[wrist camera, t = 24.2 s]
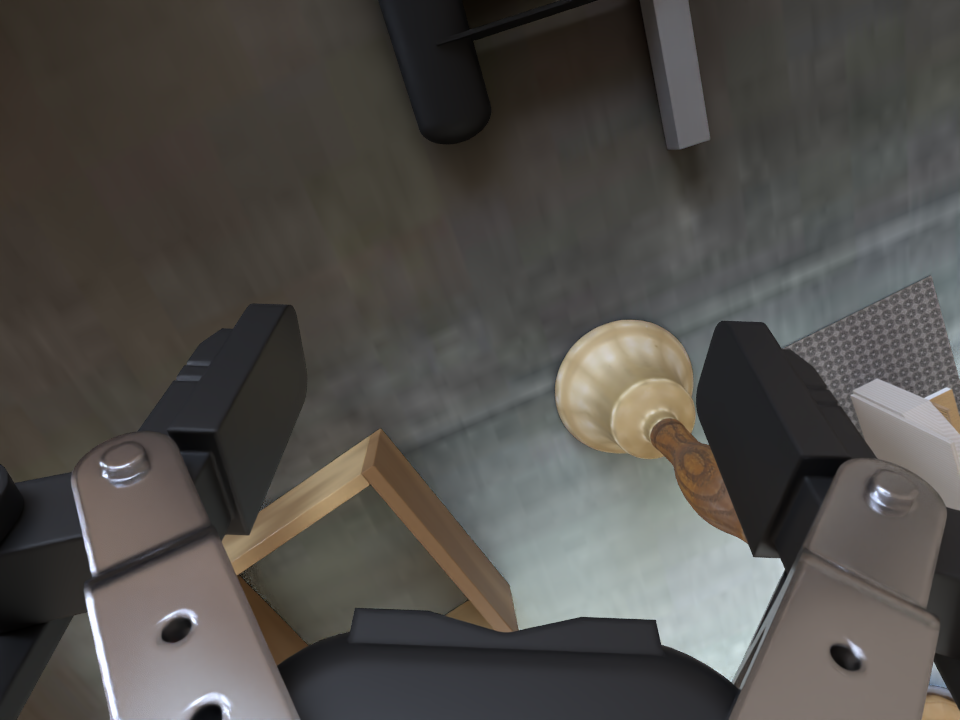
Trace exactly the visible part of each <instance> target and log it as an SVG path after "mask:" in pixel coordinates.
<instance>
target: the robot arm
mask: <svg viewBox="0 0 960 720" xmlns="http://www.w3.org/2000/svg"><path fill="white" fill-rule="evenodd" d="M306 392H307V369H306V364H305V358H304V353H303V347H302V342H301V336H300V331H299V325H298V320H297V315H296V312H295V309H294V308H293V306H292V305H280V304H250V305H249V306H248V307H247V308H246V310H245V311H244V313H243V314H242V316H241V317H240V319H239V320H238V322H237V323H236V325H235V327H234V328H233V329H224V328H222V329H221V330H219V331H218V332H216V333H215V334H213V335H212V336H210V337H209V338H208V339H206V340H205V341H203V342H202V343H200V344H199V346H198V347H197V349H196V350H195V351H194V353H193V354H192V356H191V357H190V358H189V360H188V361H187V365H184V367H183V368H182V370H181V371H180V372H179V374H178V375H177V380H176V381H175V380H174V381H173V382H172V384H171V385H170V386H169V388H168V389H167V391H166V392H165V393H164V395H163V396H162V398H161V399H160V401H159V402H158V403H157V405H156V406H155V408H154V409H153V410H152V412H151V413H150V415H149V416H148V417H147V419H146V420H145V422H144V423H143V424H142V426H141V427H140V429H139V430H138V431H137V432H131V433H126V434H123V435H120V436H116V437H114V438H111V439H109V440H107V441H105V442H103V443H101V444H99V445H98V446H96V447H95V448H93V449H92V450H90V451H89V452H88V453H87V454H85V455H84V456H83V457H82V458H81V459H80V460H79V462H78V463H77V465H76V466H75V468H74V470H73V472H70V473H65V474H60V475H54V476H49V477H44V478H39V479H34V480H28V481H23V482H18V483H14V482H13V480H12V478H11V477H10V475H9V474H8V472H7V471H6V469H5V467H3V466H2V465H1V464H0V720H17V718H18V716H19V714H20V712H21V711H22V709H23V707H24V705H25V703H26V702H27V700H28V698H29V696H30V694H31V692H32V691H33V689H34V687H35V685H36V683H37V681H38V680H39V678H40V676H41V674H42V672H43V671H44V669H45V667H46V665H47V663H48V661H49V660H50V658H51V656H52V654H53V652H54V651H55V649H56V647H57V645H58V643H59V641H60V640H61V638H62V636H63V634H64V632H65V630H66V629H67V627H68V625H69V623H70V621H71V620H72V618H73V616H74V615H77V614H81V613H86V612H88V614H89V619H90V623H91V628H92V633H93V638H94V642H95V647H96V652H97V657H98V661H99V666H100V671H101V675H102V680H103V685H104V690H105V694H106V699H107V704H108V709H109V713H110V718H111V720H922V716H923V711H924V706H925V701H926V696H927V691H928V686H929V681H930V675H931V670H932V665H933V661H934V663H935V665H936V667H937V669H938V671H939V672H940V674H941V676H942V678H943V680H944V682H945V684H946V686H947V688H948V690H949V692H950V694H951V696H952V697H953V699H954V701H955V703H956V705H957V707H958V709H959V711H960V511H959V510H956V509H952V508H949V507H946V505H945V503H944V501H943V499H942V498H941V496H940V495H939V494H938V492H937V491H936V490H935V489H934V488H933V487H932V486H931V485H930V484H929V483H927V482H926V481H925V480H924V479H922V478H921V477H920V476H918V475H917V474H915V473H913V472H911V471H910V470H908V469H906V468H904V467H902V466H899V465H897V464H894V463H891V462H888V461H885V460H881V459H877V457H876V456H875V454H874V453H873V451H872V450H871V448H870V447H869V446H868V444H867V443H866V441H865V440H864V438H863V437H862V436H861V434H860V433H859V431H858V430H857V428H856V427H855V425H854V424H853V423H852V421H851V420H850V418H849V417H848V415H847V414H846V412H845V411H844V410H843V408H842V407H841V406H838V401H837V400H836V398H835V397H834V395H833V394H832V392H831V391H830V390H827V385H826V384H825V382H824V381H823V379H822V378H821V377H820V375H819V374H818V372H817V371H816V369H815V368H814V367H813V366H812V365H811V364H809V363H808V362H807V361H805V360H804V359H803V358H801V357H800V356H799V355H797V354H796V353H795V352H793V351H792V350H791V349H782V348H781V347H780V345H779V344H778V342H777V341H776V339H775V338H774V336H773V335H772V333H771V332H770V330H769V328H768V327H767V326H766V324H764V323H762V322H741V321H721V322H719V323H718V324H717V326H716V328H715V330H714V333H713V336H712V340H711V343H710V346H709V350H708V353H707V357H706V360H705V363H704V367H703V370H702V373H701V377H700V380H699V383H698V387H697V394H696V407H697V413H698V417H699V420H700V423H701V425H702V428H703V430H704V433H705V435H706V438H707V440H708V443H709V445H710V448H711V451H712V453H713V456H714V458H715V461H716V463H717V466H718V468H719V471H720V473H721V476H722V479H723V481H724V484H725V486H726V489H727V491H728V494H729V496H730V499H731V501H732V504H733V506H734V509H735V512H736V514H737V517H738V519H739V522H740V524H741V527H742V529H743V532H744V534H745V537H746V540H747V542H748V545H749V547H750V550H751V552H752V555H753V557H764V558H781V561H782V563H783V565H784V568H785V571H784V572H783V574H782V576H781V578H780V580H779V582H778V584H777V586H776V589H775V591H774V593H773V595H772V597H771V599H770V602H769V604H768V606H767V608H766V610H765V612H764V614H763V617H762V619H761V621H760V623H759V625H758V627H757V630H756V632H755V634H754V636H753V638H752V640H751V643H750V645H749V647H748V649H747V651H746V653H745V655H744V658H743V660H742V662H741V664H740V666H739V668H738V670H737V672H736V674H735V676H734V678H733V680H732V682H730V681H729V680H728V679H726V678H725V677H724V676H722V675H721V674H719V673H718V672H716V671H715V670H714V669H712V668H711V667H709V666H708V665H706V664H704V663H702V662H700V661H699V660H697V659H695V658H693V657H691V656H689V655H687V654H685V653H682V652H680V651H678V650H675V649H673V648H670V647H667V646H664V645H661V642H660V637H659V633H658V628H657V624H656V620H644V619H619V618H594V617H579V618H575V619H570V620H565V621H561V622H556V623H551V624H547V625H542V626H537V627H533V628H528V629H523V630H519V631H514V632H499V631H495V630H492V629H488V628H485V627H482V626H478V625H475V624H471V623H468V622H465V621H461V620H458V619H455V618H451V617H448V616H444V615H441V614H438V613H434V612H431V611H420V610H395V609H370V608H355V611H354V616H353V620H352V625H351V630H350V632H346V633H342V634H338V635H335V636H332V637H329V638H326V639H323V640H320V641H318V642H316V643H314V644H312V645H310V646H308V647H305V648H303V649H302V650H300V651H298V652H297V653H295V654H293V655H292V656H290V657H288V658H287V659H285V660H284V661H283V662H281V663H280V664H279V665H276V663H275V661H274V659H273V656H272V654H271V652H270V650H269V647H268V645H267V643H266V641H265V638H264V636H263V634H262V632H261V629H260V627H259V625H258V623H257V620H256V618H255V616H254V614H253V611H252V609H251V607H250V605H249V602H248V600H247V598H246V596H245V593H244V591H243V589H242V587H241V584H240V582H239V580H238V578H237V575H236V573H235V571H234V568H233V566H232V564H231V562H230V559H229V557H228V555H227V553H226V550H225V548H224V546H223V544H222V540H223V538H224V536H225V535H250V533H251V530H252V528H253V525H254V523H255V520H256V518H257V516H258V513H259V511H260V508H261V506H262V503H263V501H264V499H265V496H266V494H267V491H268V489H269V486H270V484H271V481H272V479H273V477H274V474H275V472H276V469H277V467H278V464H279V462H280V460H281V457H282V455H283V452H284V450H285V447H286V445H287V443H288V440H289V438H290V435H291V433H292V430H293V428H294V425H295V423H296V421H297V418H298V416H299V413H300V411H301V408H302V406H303V404H304V401H305V397H306Z"/></svg>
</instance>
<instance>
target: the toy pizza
mask: <svg viewBox="0 0 960 720" xmlns="http://www.w3.org/2000/svg"><path fill="white" fill-rule="evenodd" d="M922 720H960V711H959V709H958V707H957V705H956V703H955V701H954V699H953V697H952V696H951V694H950V692H949V690H948V689H946V688H942V687H938V686H933V685H929V686H928V691H927V696H926V701H925V706H924V711H923V716H922Z"/></svg>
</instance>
